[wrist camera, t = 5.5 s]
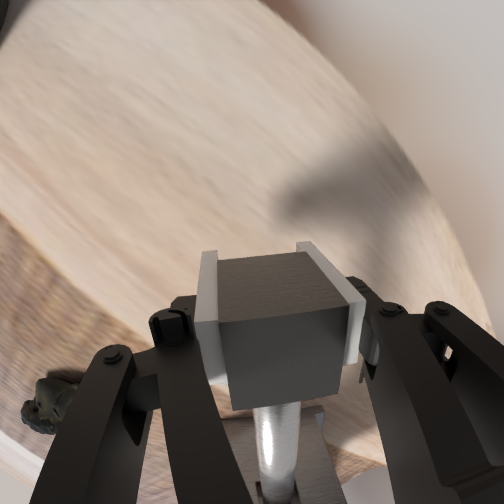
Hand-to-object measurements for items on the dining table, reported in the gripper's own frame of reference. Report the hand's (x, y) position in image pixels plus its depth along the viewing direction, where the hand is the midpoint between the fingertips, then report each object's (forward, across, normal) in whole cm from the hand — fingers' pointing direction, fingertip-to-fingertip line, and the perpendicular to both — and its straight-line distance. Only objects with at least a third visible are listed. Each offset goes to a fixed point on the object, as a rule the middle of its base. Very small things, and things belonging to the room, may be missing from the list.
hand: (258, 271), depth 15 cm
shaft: (-2, 0, -12) cm, 12 cm away
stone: (+5, -17, -14) cm, 23 cm away
